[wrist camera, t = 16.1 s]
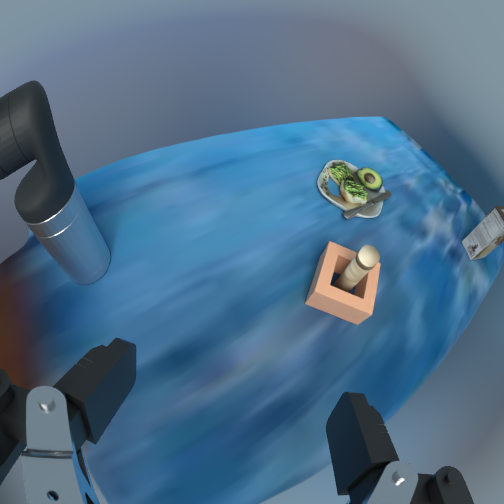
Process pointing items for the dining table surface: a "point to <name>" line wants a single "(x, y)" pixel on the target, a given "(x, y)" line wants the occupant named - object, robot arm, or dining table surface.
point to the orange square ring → (339, 300)
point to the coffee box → (486, 235)
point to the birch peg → (357, 268)
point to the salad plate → (353, 189)
